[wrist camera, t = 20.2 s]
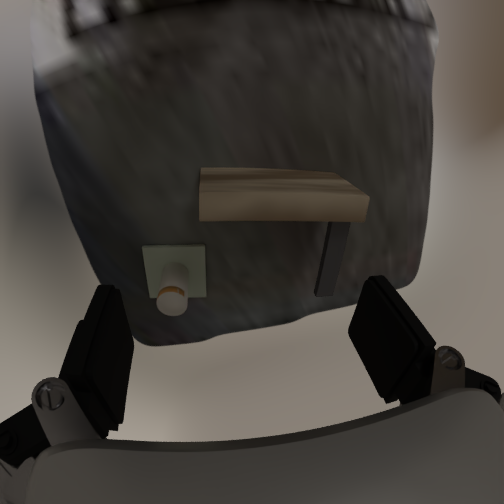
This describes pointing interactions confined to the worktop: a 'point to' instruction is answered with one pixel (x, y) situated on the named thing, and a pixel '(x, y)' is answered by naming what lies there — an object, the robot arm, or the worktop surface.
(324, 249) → the strap
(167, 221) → the worktop surface
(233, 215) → the stand
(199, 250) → the mat
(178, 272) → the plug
